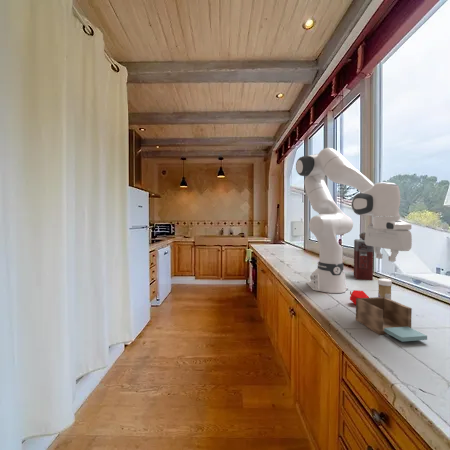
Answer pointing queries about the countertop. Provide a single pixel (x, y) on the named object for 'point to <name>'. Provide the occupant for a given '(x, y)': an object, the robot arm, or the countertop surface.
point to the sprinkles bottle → (384, 288)
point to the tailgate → (405, 334)
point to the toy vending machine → (363, 259)
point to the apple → (357, 295)
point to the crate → (382, 314)
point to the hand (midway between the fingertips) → (385, 259)
